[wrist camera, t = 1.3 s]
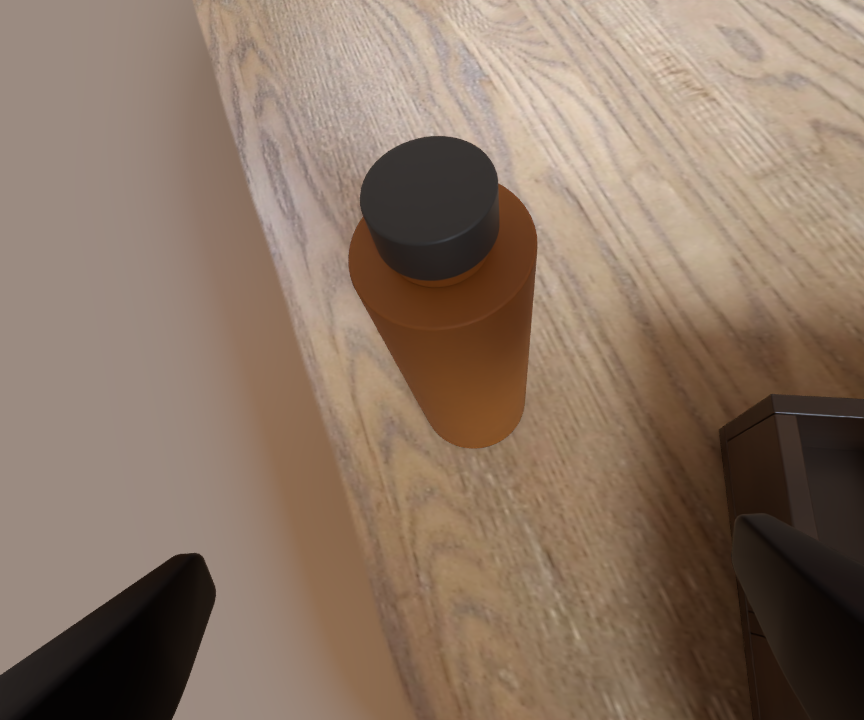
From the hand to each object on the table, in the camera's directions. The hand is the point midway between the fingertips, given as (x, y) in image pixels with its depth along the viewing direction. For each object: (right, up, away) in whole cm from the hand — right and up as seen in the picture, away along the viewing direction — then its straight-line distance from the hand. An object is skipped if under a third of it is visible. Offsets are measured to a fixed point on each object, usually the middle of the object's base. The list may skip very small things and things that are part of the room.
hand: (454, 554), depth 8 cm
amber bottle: (+2, +1, +15) cm, 15 cm away
